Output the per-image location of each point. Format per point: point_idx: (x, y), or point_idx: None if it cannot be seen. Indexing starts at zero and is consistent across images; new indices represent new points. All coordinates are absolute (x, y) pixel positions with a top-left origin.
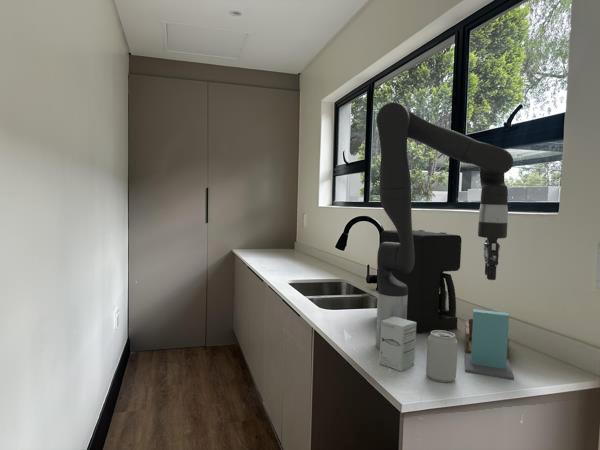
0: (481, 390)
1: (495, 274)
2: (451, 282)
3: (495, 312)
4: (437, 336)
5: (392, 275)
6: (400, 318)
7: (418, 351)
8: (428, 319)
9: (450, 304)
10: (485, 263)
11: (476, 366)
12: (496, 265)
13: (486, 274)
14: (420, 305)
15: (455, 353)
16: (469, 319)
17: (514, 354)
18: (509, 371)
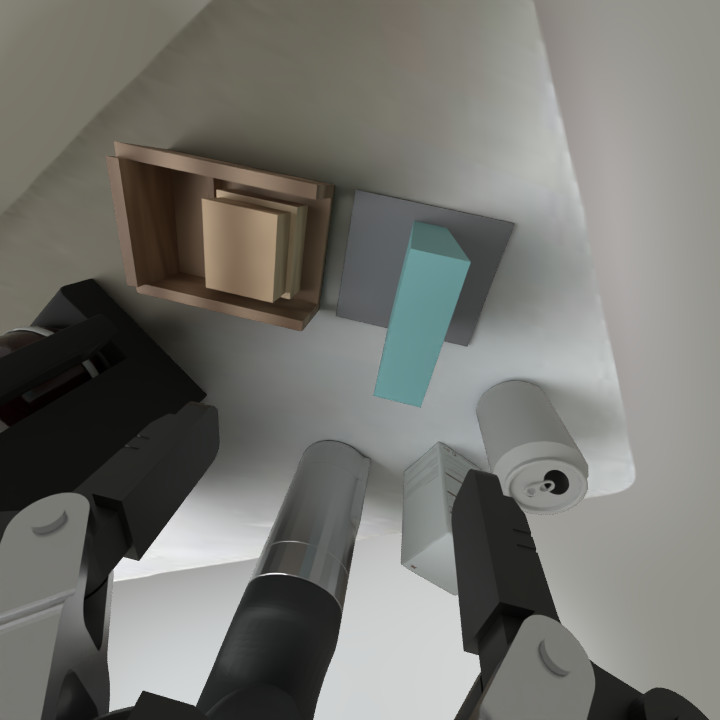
0: (587, 335)
1: (505, 517)
2: None
3: (414, 314)
4: (573, 506)
5: (241, 670)
6: (422, 559)
7: (344, 417)
8: (157, 390)
9: (77, 353)
10: (145, 550)
11: None
12: (578, 652)
13: (216, 447)
14: None
15: (564, 429)
16: (139, 284)
17: (278, 142)
18: (466, 222)
